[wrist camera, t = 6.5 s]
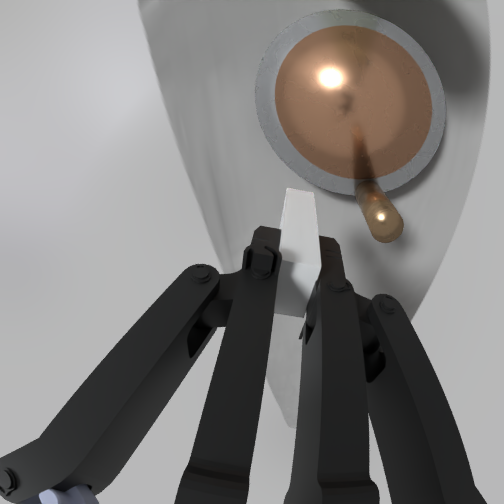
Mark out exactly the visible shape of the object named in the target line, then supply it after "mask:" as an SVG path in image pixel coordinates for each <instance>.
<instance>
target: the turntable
mask: <svg viewBox="0 0 504 504" xmlns="http://www.w3.org/2000/svg"><path fill="white" fill-rule="evenodd" d="M255 103H256V109H257V115H258V118H259V121H260V124H261V127H262V130H263V132H264V134H265V136H266V138H267V140H268V142H269V143H270V145H271V147H272V148H273V150H274V151H275V152H276V154H277V155H278V156H279V157H280V159H281V160H282V161H283V162H284V163H285V164H286V165H287V166H288V167H289V168H290V169H291V170H293V171H294V172H295V173H296V174H298V175H299V176H300V177H302V178H304V179H305V180H307V181H308V182H310V183H312V184H314V185H316V186H318V187H320V188H323V189H326V190H329V191H332V192H335V193H340V194H345V195H355V198H356V200H357V202H358V204H359V206H360V209H361V211H362V213H363V215H364V217H365V220H366V222H367V224H368V226H369V229H370V231H371V233H372V236H373V237H374V238H375V239H376V240H377V241H379V242H382V243H388V242H392V241H394V240H395V239H397V238H398V237H399V236H400V235H401V233H402V231H403V227H404V223H403V219H402V217H401V216H400V214H399V213H398V212H397V210H396V209H395V207H394V206H393V204H392V203H391V201H390V200H389V199H388V197H387V196H386V194H385V193H384V192H387V191H390V190H393V189H395V188H397V187H400V186H402V185H403V184H405V183H407V182H408V181H410V180H411V179H413V178H414V177H415V176H416V175H418V174H419V173H420V172H421V171H422V170H423V169H424V168H425V167H426V166H427V164H428V163H429V161H430V160H431V159H432V157H433V156H434V154H435V152H436V150H437V148H438V146H439V144H440V141H441V139H442V135H443V131H444V127H445V118H446V103H445V96H444V91H443V87H442V84H441V80H440V78H439V75H438V73H437V71H436V68H435V66H434V65H433V63H432V61H431V60H430V58H429V56H428V55H427V54H426V52H425V51H424V50H423V49H422V47H421V46H420V45H419V44H418V43H417V42H416V41H415V40H414V39H413V38H412V37H411V36H410V35H408V34H407V33H406V32H405V31H403V30H402V29H401V28H399V27H398V26H396V25H394V24H393V23H391V22H389V21H387V20H385V19H383V18H381V17H378V16H375V15H372V14H369V13H366V12H361V11H355V10H340V9H338V10H328V11H322V12H318V13H314V14H311V15H308V16H306V17H304V18H301V19H299V20H298V21H296V22H294V23H293V24H291V25H289V26H288V27H287V28H286V29H284V30H283V31H282V32H281V33H280V34H279V35H278V36H277V37H276V38H275V39H274V40H273V42H272V43H271V44H270V46H269V47H268V49H267V51H266V52H265V54H264V56H263V58H262V61H261V63H260V66H259V69H258V73H257V77H256V85H255Z"/></svg>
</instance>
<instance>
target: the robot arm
mask: <svg viewBox="0 0 504 504" xmlns="http://www.w3.org/2000/svg"><path fill="white" fill-rule="evenodd" d="M274 313H277V314H283V315H289V316H295V317H302V318H304V315H305V313H306V321H305V323H304V326H303V328H302V331H301V333H300V336H299V339H302V336H303V342H302V362H301V379H300V393H299V406H298V418H297V430H296V439H295V449H294V458H293V466H292V474H291V482H290V487H289V490H288V492H287V494H286V496H285V499H284V504H379V501H380V497H379V490H378V487H377V485H376V484H375V483H374V482H373V481H372V480H371V478H370V475H369V420H368V419H369V418H368V413H369V416H370V420H371V423H372V427H373V430H374V434H375V437H376V440H377V444H378V448H379V452H380V455H381V459H382V463H383V467H384V471H385V475H386V479H387V484H388V488H389V492H390V497H391V502H392V504H487V503H486V501H485V500H484V498H483V497H482V495H481V494H480V492H479V491H478V489H477V488H476V487H475V484H474V480H473V476H472V472H471V469H470V465H469V461H468V458H467V455H466V451H465V448H464V445H463V442H462V439H461V436H460V433H459V430H458V427H457V425H456V422H455V419H454V417H453V414H452V411H451V409H450V406H449V404H448V401H447V399H446V396H445V394H444V391H443V389H442V387H441V384H440V382H439V380H438V377H437V375H436V373H435V371H434V369H433V367H432V364H431V363H430V360H429V358H428V356H427V354H426V352H425V350H424V348H423V346H422V344H421V342H420V340H419V338H418V336H417V334H416V332H415V330H414V328H413V326H412V324H411V322H410V321H409V319H408V317H407V315H406V313H405V311H404V310H403V308H402V306H401V305H400V303H399V302H398V301H397V300H396V299H395V298H393V297H392V296H389V295H387V294H378V295H376V296H375V297H373V299H372V300H370V299H367V298H365V297H363V296H360V295H358V294H357V293H355V292H354V288H353V286H352V284H351V283H350V282H349V281H348V280H347V279H346V278H345V272H344V266H343V261H342V255H341V250H340V245H339V244H338V243H337V241H336V240H335V239H334V238H329V237H324V236H319V235H318V225H317V216H316V207H315V199H314V193H313V192H308V191H302V190H297V189H291V188H287V191H286V196H285V202H284V207H283V213H282V218H281V223H280V229H276V228H270V227H265V226H260V227H258V228H257V229H256V230H255V231H254V234H253V239H252V242H251V245H250V246H248V247H246V249H245V250H244V254H243V264H242V269H241V270H239V271H238V272H235V273H231V274H219V272H218V271H217V270H216V268H214V267H212V266H210V265H206V264H196V265H192V266H190V267H188V268H187V269H185V270H184V271H183V272H182V274H180V275H179V277H178V278H177V279H176V280H175V281H174V282H173V283H172V284H171V285H170V286H169V287H168V288H167V289H166V290H165V292H164V293H163V294H162V295H161V296H160V297H159V298H158V299H157V300H156V301H155V302H154V303H153V304H152V305H151V307H150V308H149V309H148V310H147V311H146V312H145V313H144V314H143V315H142V316H141V318H140V319H139V320H138V321H137V322H136V323H135V324H134V325H133V326H132V327H131V328H130V330H129V331H128V332H127V333H126V334H125V335H124V336H123V338H122V339H121V340H120V341H119V342H118V343H117V344H116V345H115V347H114V348H113V349H112V350H111V351H110V352H109V353H108V355H107V356H106V357H105V358H104V359H103V360H102V361H101V363H100V364H99V365H98V366H97V367H96V368H95V370H94V371H93V372H92V373H91V374H90V375H89V377H88V378H87V379H86V380H85V381H84V382H83V384H82V385H81V386H80V387H79V389H78V390H77V391H76V392H75V393H74V394H73V396H72V397H71V398H70V399H69V401H68V402H67V403H66V404H65V405H64V407H63V408H62V409H61V410H60V412H59V413H58V414H57V415H56V417H55V418H54V419H53V420H52V422H51V423H50V424H49V426H48V427H47V428H46V429H45V431H44V432H43V433H42V434H41V436H40V437H39V438H38V439H36V440H34V441H32V442H30V443H29V444H27V445H25V446H23V447H21V448H19V449H17V450H15V451H13V452H11V453H9V454H7V455H5V456H3V457H1V458H0V495H1V496H2V497H3V498H4V499H5V500H7V501H9V502H12V503H15V504H99V502H98V500H97V499H96V497H95V495H97V494H99V493H100V492H102V491H103V490H104V489H105V488H106V487H107V486H108V485H110V484H111V483H112V481H113V480H114V479H115V478H116V476H117V475H118V474H119V473H120V471H121V470H122V468H123V467H124V465H125V464H126V463H127V461H128V460H129V458H130V457H131V455H132V454H133V453H134V451H135V450H136V448H137V447H138V445H139V444H140V443H141V441H142V440H143V438H144V437H145V435H146V434H147V432H148V431H149V429H150V428H151V426H152V425H153V424H154V422H155V421H156V419H157V418H158V416H159V415H160V413H161V412H162V410H163V409H164V408H165V406H166V405H167V403H168V402H169V400H170V399H171V397H172V396H173V394H174V393H175V391H176V390H177V388H178V387H179V385H180V384H181V382H182V381H183V379H184V378H185V376H186V375H187V373H188V372H189V370H190V369H191V367H192V366H193V364H194V363H195V361H196V360H197V358H198V357H199V355H200V354H201V352H202V351H203V349H204V348H205V346H206V345H207V343H208V342H209V340H210V339H211V337H212V336H213V334H214V333H215V331H216V329H217V327H226V328H225V332H224V336H223V339H222V343H221V346H220V350H219V354H218V357H217V361H216V365H215V368H214V372H213V376H212V380H211V383H210V387H209V391H208V394H207V398H206V402H205V405H204V409H203V412H202V416H201V420H200V424H199V427H198V431H197V434H196V438H195V442H194V446H193V449H192V453H191V457H190V460H189V463H188V465H187V467H186V469H185V471H184V473H183V476H182V478H181V481H180V484H179V488H178V492H177V495H176V499H175V503H174V504H246V502H247V497H248V491H249V475H250V469H251V463H252V457H253V452H254V446H255V440H256V433H257V428H258V421H259V415H260V409H261V402H262V395H263V389H264V382H265V375H266V368H267V361H268V354H269V347H270V339H271V332H272V324H273V316H274Z"/></svg>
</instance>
